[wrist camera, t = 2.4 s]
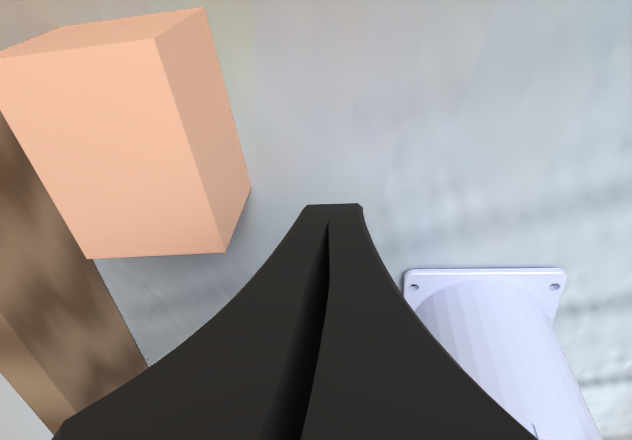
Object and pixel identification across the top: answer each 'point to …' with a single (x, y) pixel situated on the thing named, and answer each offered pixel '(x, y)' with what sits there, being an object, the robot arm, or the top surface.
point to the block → (130, 133)
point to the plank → (53, 303)
